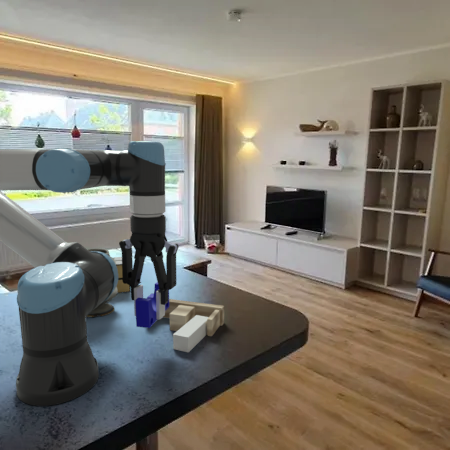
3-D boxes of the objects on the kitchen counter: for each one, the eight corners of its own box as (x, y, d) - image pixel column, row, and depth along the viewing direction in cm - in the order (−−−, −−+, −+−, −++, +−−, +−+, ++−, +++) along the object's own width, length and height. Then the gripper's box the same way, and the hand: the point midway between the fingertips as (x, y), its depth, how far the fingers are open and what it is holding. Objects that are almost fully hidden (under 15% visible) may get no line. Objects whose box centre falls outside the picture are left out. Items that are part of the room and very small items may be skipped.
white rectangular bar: (188, 353, 88) (188, 337, 87) (173, 350, 89) (173, 334, 89) (210, 331, 99) (210, 317, 98) (196, 329, 100) (196, 315, 99)
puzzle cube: (99, 285, 133) (98, 258, 131) (128, 282, 136) (127, 256, 134) (99, 295, 124) (97, 266, 122) (130, 292, 127) (129, 263, 125)
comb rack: (214, 336, 95) (214, 318, 94) (143, 325, 101) (142, 308, 100) (224, 323, 103) (224, 305, 102) (158, 313, 109) (157, 297, 108)
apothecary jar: (77, 322, 103) (72, 259, 100) (73, 306, 114) (69, 249, 111) (121, 314, 109) (119, 254, 105) (114, 300, 119) (111, 245, 116)
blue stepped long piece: (152, 304, 92) (151, 281, 91) (169, 306, 91) (168, 282, 90) (129, 326, 81) (128, 299, 80) (149, 328, 80) (148, 301, 79)
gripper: (192, 214, 82) (192, 314, 86) (121, 209, 88) (124, 304, 92) (178, 219, 75) (179, 328, 79) (102, 214, 80) (106, 316, 85)
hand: (149, 315), depth 86 cm, fingers closed on blue stepped long piece, 5 cm apart
